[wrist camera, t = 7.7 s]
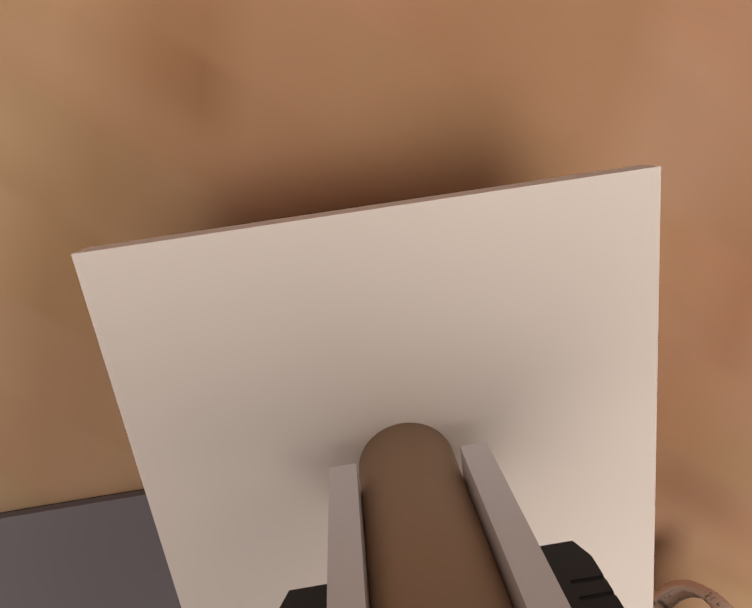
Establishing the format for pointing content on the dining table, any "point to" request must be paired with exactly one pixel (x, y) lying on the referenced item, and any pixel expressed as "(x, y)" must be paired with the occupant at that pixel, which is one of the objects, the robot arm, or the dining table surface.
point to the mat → (85, 556)
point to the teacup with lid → (686, 594)
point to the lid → (393, 385)
